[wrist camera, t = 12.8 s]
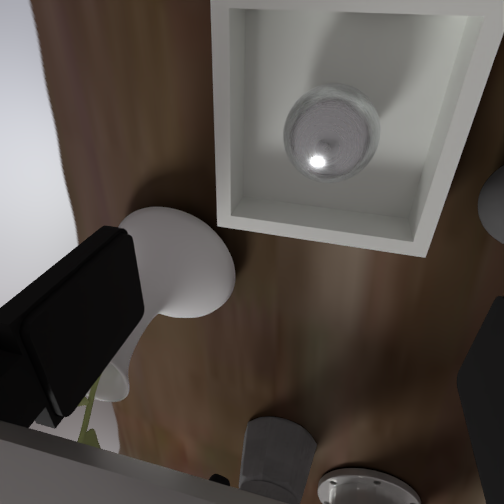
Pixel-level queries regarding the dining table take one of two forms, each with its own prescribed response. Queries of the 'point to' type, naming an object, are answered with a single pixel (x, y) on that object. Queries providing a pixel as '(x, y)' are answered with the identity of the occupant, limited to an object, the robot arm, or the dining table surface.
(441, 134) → the tray
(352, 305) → the dining table surface
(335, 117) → the steel ball
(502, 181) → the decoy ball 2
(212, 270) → the flower in vase
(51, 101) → the dining table surface
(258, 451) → the coffeepot
